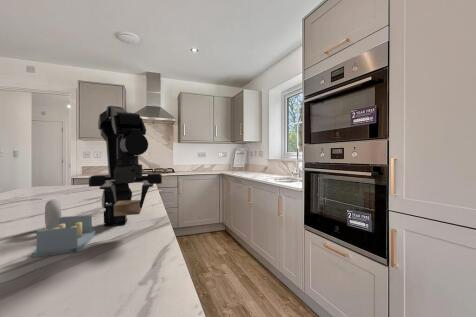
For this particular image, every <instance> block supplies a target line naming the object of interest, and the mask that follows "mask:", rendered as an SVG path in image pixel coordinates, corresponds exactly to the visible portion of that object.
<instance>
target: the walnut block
mask: <svg viewBox="0 0 476 317" xmlns="http://www.w3.org/2000/svg"><path fill="white" fill-rule="evenodd" d="M140 201H141V199H131V200H126V201H118V202H117V203H116V204H115V205H114V216H123V215H127V216H133V215H140V213H141V212H142V208H143V207H142V208H140Z"/></svg>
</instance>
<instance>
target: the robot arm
mask: <svg viewBox="0 0 476 317" xmlns="http://www.w3.org/2000/svg"><path fill="white" fill-rule="evenodd" d="M97 128H98V130H99V131H100V136H101V138H103V140H104V141H105V144H106V156H107V158H106V159H107V168H108V170H107V171H108V174H94V175H91V176H90V177H89V179H88V187H92V188H93V187H99V190H103V191H102V195H101V207H102V208H103V209H105V210H104V211H103V224H104V225H103V226H104V227H109V226H110V227H111V226H120V225H122V226H123V225H126V224H127V222H128V215H123V216H114V205H115V204H116V203H117V202H118V201H126V200H132V197H133V191H132V189H131V188H130V184H133V183H142V185H141V194H140V200H141V201H140V208H143V205H144V202H145V200H146V196H147V193H148V191H149V189H150V188H153V187H154V185H157V184H160V185H161V184H162V182H163V181H162V180H163V178H162V176H163V174H161V173H160V172H156V173H155V172H152V173H151V172H150V173H149V172H148V173H147V175H143V174H144V171H143V165H142V164H140V163H139V156H140V155H143V154H144V153H146V152H147V150H148V148H149V141H148V139H147V138H146V136H145V135H146V134H147V128H146V125H145V122H144V121H143V118H142V117H141V116H140V113H136V112H128V111H126V110H125V109H124V107H122V106H114V105H107V106H106V110H104V111H103V112H101V113H100V114H99V116H98V122H97Z"/></svg>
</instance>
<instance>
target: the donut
mask: <svg viewBox="0 0 476 317" xmlns="http://www.w3.org/2000/svg"><path fill="white" fill-rule="evenodd" d="M60 217H62V206H61V203H60V201H59V200H57V199H50V200H48V201H47V202H46V203H45V207H44V224H45V227H46V230H47V229H53V228H58V225H59V218H60Z"/></svg>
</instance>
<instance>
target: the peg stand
mask: <svg viewBox="0 0 476 317" xmlns="http://www.w3.org/2000/svg"><path fill="white" fill-rule="evenodd" d="M92 217H93V216H92V214H82V215H69V216H61V217H60V218H59V225H58V228H53V229H47V228H46V229H38V230H37V231H36V249H35V250H34V251H32V252H31V258H39V257H45V256H46V257H47V256H54V255H55V256H56V255H63V254H71V253H81V252H82V251H83V250H84V249H85V247H86V246H87V245H88V244H89V243H90V242H91V240H92V239H93V238H94V237H95V236H96V235H97V231H96V230H93V218H92Z"/></svg>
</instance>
